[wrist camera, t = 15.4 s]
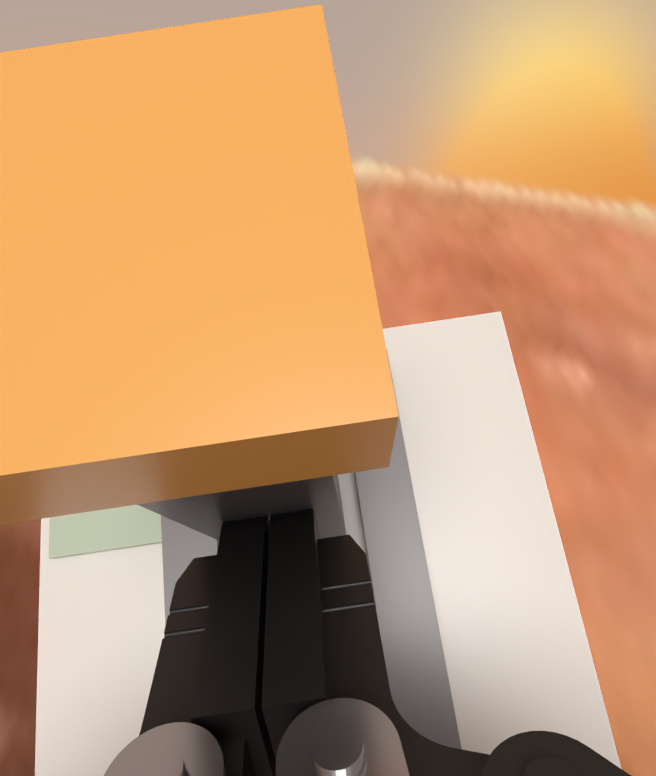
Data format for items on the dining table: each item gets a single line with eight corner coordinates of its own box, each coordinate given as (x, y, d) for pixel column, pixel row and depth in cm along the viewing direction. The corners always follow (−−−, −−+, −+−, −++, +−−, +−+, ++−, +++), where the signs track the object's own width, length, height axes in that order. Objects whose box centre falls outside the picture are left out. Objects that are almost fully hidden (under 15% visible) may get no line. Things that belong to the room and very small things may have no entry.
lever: (348, 411, 15) (321, 4, 5) (371, 554, 14) (399, 416, 4) (211, 431, 15) (-108, 68, 5) (221, 577, 14) (-170, 501, 4)
